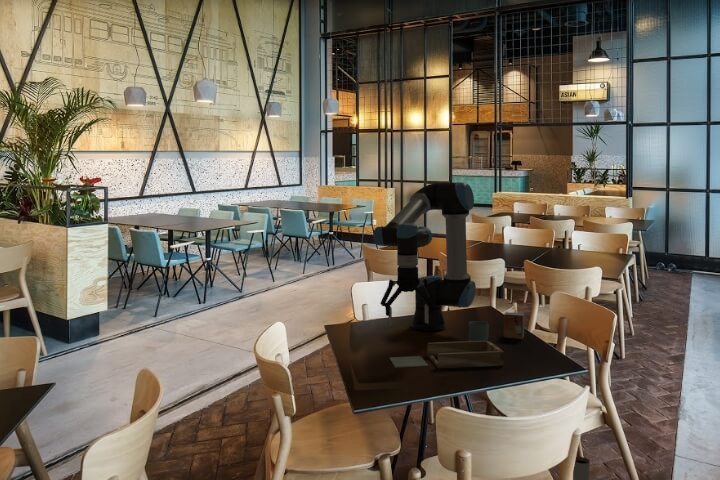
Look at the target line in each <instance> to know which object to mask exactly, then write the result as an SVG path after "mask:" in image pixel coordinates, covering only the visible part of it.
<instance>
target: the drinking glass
mask: <svg viewBox="0 0 720 480" xmlns="http://www.w3.org/2000/svg"><path fill="white" fill-rule="evenodd" d="M575 457H576V462H575V467H574V470H573V480H589V477H590V459H588V458H587V457H583V456H575Z"/></svg>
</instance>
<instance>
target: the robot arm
mask: <svg viewBox="0 0 720 480" xmlns="http://www.w3.org/2000/svg"><path fill="white" fill-rule="evenodd" d="M474 198H475V197H474V192H473V189H472V187H471V186H470V184H469V183H466V182H459V181H457V182H435V183H433V182H432V183H429V184H427V185H425V186H423V187H421V188H420V189H418V190H417V191H415V192H414V193H413V194H412V195H411V196H410V198H409V201H408V203H407V204H405V206H404V207H403V208H402V209H401V210H400V211H399V212H398V213H397V214H396V215H395V216H394V217H393V218H392V219H391V220H390V221H389V222H388V223H387V224H386V225H385V226H383V225H381V226H376V227H375V228H374V230H373V234H372V239H373V242H374V244H375V245H376V246H381V247H382V246H383V247H396V250H397V253H396V254H397V255H396V257H397V258H396V259H397V261H396V265H397V279H396V280H392V279H389V280H388V286H387V288H386V290H385V292H384V294H383V297H382V299H381V301H380V303H379V304H380V305H381V306H382V307H385V315H386V316H387V317H388V325H389V326H393V314H392V313H393V312H392V311H393V310H392V309H393V308H392V306H391V305H392V304H393V303H394V302H395V300H396V299H397V298H398V297H399V295H400V294H402V292H404V293H408V292H410V293H411V292H412V293H413V292H414V294H415V296H414V297H415V298H414V299H415V303H414V304H415V311H414V314H413V317H412V321H411V329H413V330H417V331H424V332H425V331H427V332H428V331H429V332H431V331H432V332H433V331H434V332H435V331H441V330H444V329H446V321H445V320H446V319H445V317H444V314H443V311H442V306H444V307H454V308H459V309H460V308H469V307H470V306H471V305H472V304H473V302H474V300H475V297H476V291H477V290H476V289H477V286H476V282H475V281H474V280H472V279H471V275H470V274H469V273H468V264H467V263H468V262H467V261H468V260H467V259H468V258H467V257H468V256H467V222H466V221H467V219H466V218H467V217H468V215H470V211H471V210H472V209H473V208H474V204H475V199H474ZM433 210H438V211H440V210H441V215H442V217H444V218H445V242H446V243H445V245H446V246H445V247H446V248H445V250H446V273H445V274H444V275H443V277H442V276H441V275H437V274H435V275H427V276H421V277H419V266H418V265H419V248H423V247H426V246H428V245H429V244H430V243H431V242H432V241H433V233H432V231H431V229H429V228H428V227H427V226H418V225H417V224H416V222H417V221H418V219H419V218H421V216H422V215H423V214H427V213H428V212H429V211H433ZM396 285H397V286H398V287H397V288H396V290H395V291H394V293H393V294H392V295H391V296H390V294H391V292H392V291H393V288H394V287H395V286H396ZM389 297H390V298H389Z"/></svg>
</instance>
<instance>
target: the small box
mask: <svg viewBox="0 0 720 480" xmlns="http://www.w3.org/2000/svg"><path fill="white" fill-rule="evenodd" d="M503 317H504V318H503V338H506V339H507V338H508V339H515V340H516V339H519V340H523V339H524V337H525V317H526V316H525V312H523V313H522V312H509V311H505V313H504V314H503Z"/></svg>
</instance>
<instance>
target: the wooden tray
mask: <svg viewBox="0 0 720 480" xmlns="http://www.w3.org/2000/svg"><path fill="white" fill-rule="evenodd" d="M426 345H427V348H426V349H427V350H426V351H427V352H426V354H427V355H426V356H427V357H428V358H429V359H430V360H431V361H432V363H433V364H434V366H436V367H437V369H457V368H458V369H459V368H460V369H461V368H475V367H476V368H477V367H481V368H482V367H496V366H497V367H498V366H499V367H500V366H502V367H503V366H505V351H504V350H502V349H501V348H500V347H498V346H497V345H496V344H494V343H492V342H491V341H490V340H489V339H488V340H482V341H469V340H465V341H464V340H463V341H461V340H460V341H439V342H438V341H437V342H427V344H426ZM436 357H437V359H436Z"/></svg>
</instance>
